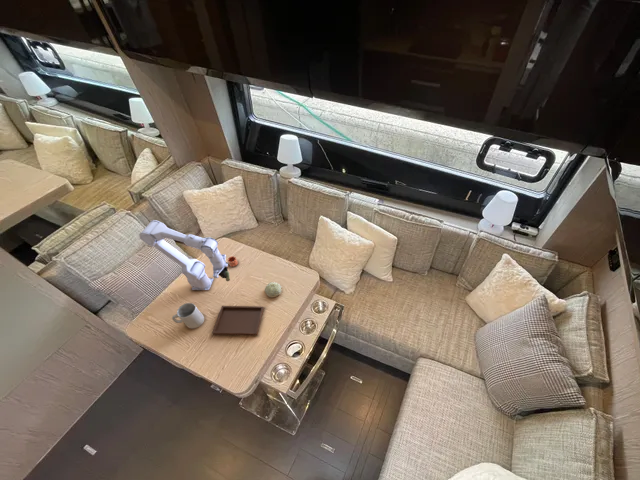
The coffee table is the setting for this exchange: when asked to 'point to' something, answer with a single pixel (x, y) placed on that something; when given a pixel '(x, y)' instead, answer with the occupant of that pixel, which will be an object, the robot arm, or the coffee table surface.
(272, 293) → the sea urchin shell
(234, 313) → the tray
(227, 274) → the muddler
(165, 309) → the coffee table surface
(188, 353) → the coffee table surface
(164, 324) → the coffee table surface
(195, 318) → the mug
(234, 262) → the cup
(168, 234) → the robot arm
